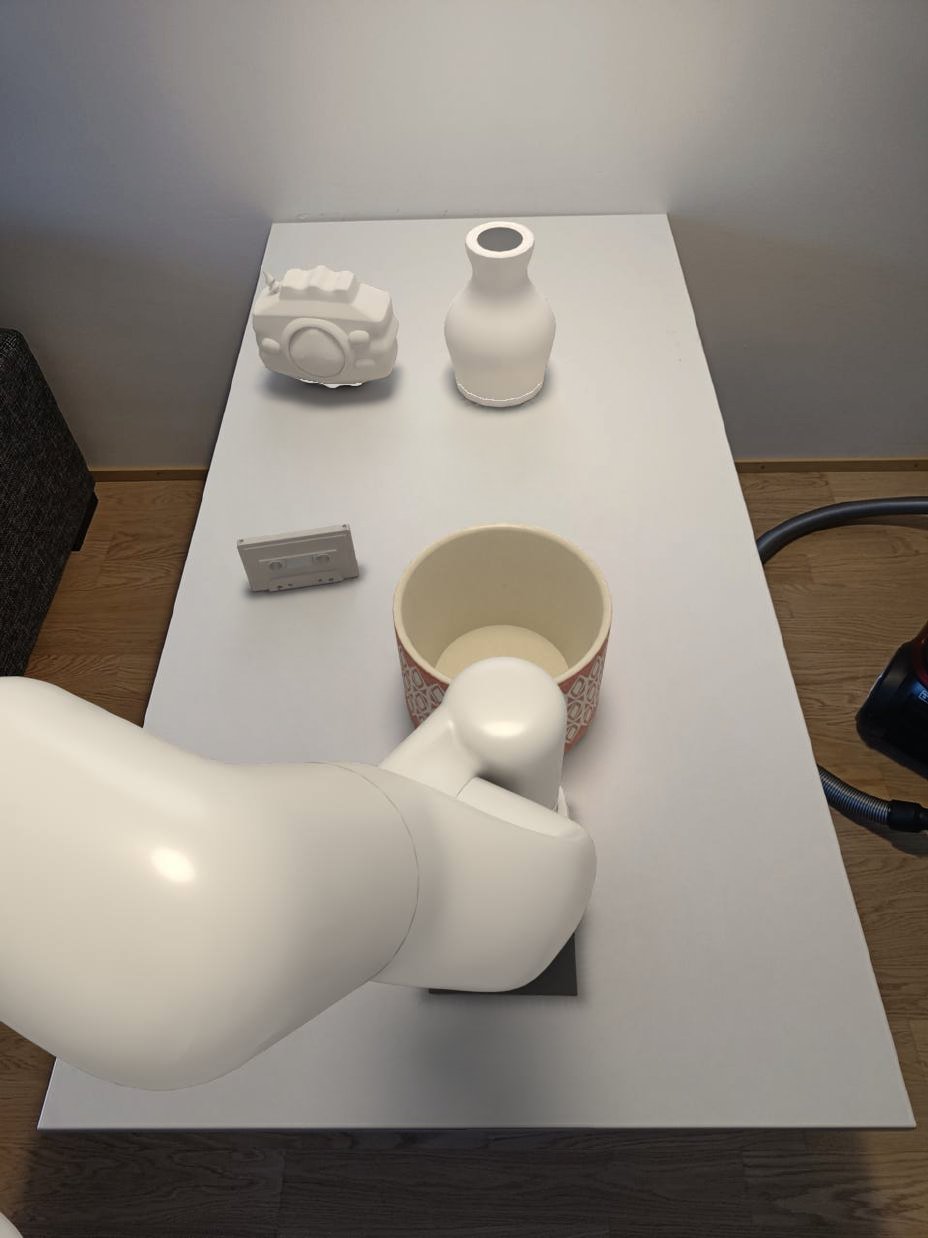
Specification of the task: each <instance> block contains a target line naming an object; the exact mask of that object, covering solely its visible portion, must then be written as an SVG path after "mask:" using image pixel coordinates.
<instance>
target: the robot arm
mask: <svg viewBox="0 0 928 1238" xmlns="http://www.w3.org/2000/svg"><path fill="white" fill-rule="evenodd" d="M566 730H567V707H566V702H565V699H564V697H563V694H562V691H561V690H560V688H559V686H558V684H557V683H556V682H555V681H554V679H553V678H552V677H551V676H550V675H549V674H548V673H547V672H546V671H545V670H543V669H542V668H540V667H539V666H537V665H535V664H534V663H531V662H529V661H526V660H523V659H519V658H515V657H492V658H487V659H483V660H480V661H478V662H476V663H473V664H471V665H470V666H468V667H466V668H465V669H464V670H462V671H461V672H460V673H459V674H458V675H457V676H456V677H455V678H454V680H453V681H452V682H451V683H450V685H449V687H448V689H447V690H446V692H445V695H444V698H443V700H442V703H441V704H440V705H439V706H438V708H437V709H436V710H435V711H434V712H433V713H432V714H431V715H430V716H429V717H428V718H427V719H426V720H425V721H424V722H423V723H422V724H421V725H420V726H419V727H418V728H417V727H416V728H415V729H414V730H413V731H412V732H411V733H410V734H409V735H408V736H407V737H406V738H404V739H403V740H402V741H401V742H400V743H399V744H398V745H397V746H396V747H395V748H393V750H391V752H390V753H388V754H387V755H386V756H385V757H384V758H383V759H381V761H379V763H378V764H377V765H376V766H375V765H370V764H367V763H363V762H358V761H346V760H338V761H337V760H336V761H334V760H333V761H312V762H286V763H285V762H282V763H281V762H279V763H261V762H257V763H255V762H254V763H251V762H249V763H248V762H247V763H231V762H230V763H229V762H223V761H220V760H217V759H212V758H209V757H207V756H204V755H201V754H198V753H195V752H193V751H190V750H188V749H185V748H184V747H181V746H179V745H177V744H175V743H173V742H171V741H168V739H167V740H166V739H164V738H163V737H160V736H158V735H156V734H154V733H153V732H150V731H149V730H147V729H145V728H143V727H141V726H138V725H137V724H135V723H133V722H131V721H129V720H127V719H125V718H123V717H121V716H118V715H116V714H114V713H111V712H109V711H108V710H106V709H105V708H103V707H101V706H99V705H96V704H94V703H93V702H90V701H87V700H86V699H84V698H81V697H79V696H77V695H75V694H73V693H71V692H70V691H67V690H65V689H64V688H63V687H62V688H61V687H60V686H58V685H55V684H53V683H50V682H47V681H44V680H39V679H37V678H31V677H24V676H0V1022H1V1023H3V1024H4V1025H6V1026H7V1027H9V1028H10V1029H12V1030H13V1031H15V1032H16V1033H18V1034H19V1035H21V1036H22V1037H23V1038H24V1039H27V1040H28V1041H30V1042H31V1043H33V1044H34V1045H36V1046H38V1047H39V1048H42V1050H44V1051H46V1052H47V1053H49V1054H51V1055H52V1056H54V1057H56V1058H57V1059H59V1060H61V1061H62V1062H65V1063H66V1064H67V1065H71V1066H72V1067H74V1068H76V1069H77V1070H80V1071H81V1072H83V1073H85V1074H87V1075H89V1076H92V1077H94V1078H96V1079H100V1080H102V1081H105V1082H108V1083H111V1084H113V1085H116V1086H119V1087H125V1088H131V1089H137V1090H143V1091H151V1092H165V1091H167V1092H168V1091H169V1092H170V1091H177V1090H182V1089H187V1088H192V1087H196V1086H199V1085H204V1084H207V1083H210V1082H213V1081H214V1080H217V1079H220V1078H222V1077H224V1076H226V1075H228V1074H230V1073H232V1072H234V1071H236V1070H238V1069H239V1068H241V1067H242V1066H244V1065H245V1064H246V1063H248V1062H250V1061H251V1060H252V1059H254V1058H256V1057H257V1056H258V1055H260V1054H262V1053H264V1052H265V1051H266V1050H268V1049H269V1048H271V1047H272V1046H274V1045H276V1044H277V1043H278V1042H280V1041H281V1040H283V1039H284V1038H286V1037H288V1036H289V1035H290V1034H292V1033H293V1032H295V1031H296V1030H298V1029H299V1028H301V1027H302V1026H304V1025H305V1024H307V1023H308V1022H310V1021H311V1020H313V1019H315V1018H316V1017H317V1016H319V1015H321V1014H323V1012H326V1010H328V1009H329V1008H331V1007H332V1006H334V1005H335V1004H336V1003H338V1002H339V1001H341V1000H342V999H344V998H346V997H348V995H350V994H352V993H353V992H354V991H356V990H357V989H359V988H360V987H362V986H364V985H365V984H367V983H368V982H373V983H380V984H385V985H391V986H398V987H399V986H400V987H408V988H409V987H410V988H421V989H422V988H423V989H429V988H435V989H451V990H462V991H475V992H499V991H508V990H512V989H516V988H519V987H521V986H524V985H526V984H528V983H529V982H531V981H532V980H534V979H535V978H536V977H537V976H539V975H540V974H541V973H542V972H543V971H544V970H545V969H546V968H547V967H548V965H549V964H550V963H551V962H552V961H553V959H554V958H555V957H556V955H557V954H558V953H559V952H560V950H561V949H562V948H563V946H564V945H565V944H566V942H567V941H568V939H569V938H570V937H571V935H572V934H573V932H574V933H575V930H576V929H577V928H578V926H579V924H580V922H581V920H582V918H583V916H584V914H585V912H586V910H587V907H588V905H589V902H590V900H591V897H592V893H593V889H594V885H595V881H596V876H597V868H598V867H597V864H598V863H597V862H598V859H597V850H596V845H595V843H594V840H593V838H592V836H591V835H590V833H589V832H588V830H587V829H585V827H583V826H582V825H581V824H579V823H578V822H576V821H575V820H573V819H571V814H570V809H569V804H568V800H567V796H566V794H565V791H564V789H563V787H562V785H561V779H562V772H563V771H562V770H563V761H564V755H565V754H564V753H565V752H564V746H565V738H566ZM0 1238H24V1237H23V1235H22V1234H21V1232H20V1231H19V1230H18V1228H17V1227H16V1226H15V1225H14V1224H13V1223H12V1222H11V1221H10V1220H9V1218H7V1217H6V1216H5V1215H4V1214H3V1213H2V1212H1V1211H0Z"/></svg>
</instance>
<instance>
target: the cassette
mask: <svg viewBox="0 0 928 1238" xmlns="http://www.w3.org/2000/svg"><path fill="white" fill-rule="evenodd" d="M236 549H237V551H238V554H239V556H240V560H241V563H242V565H243V569H244V572H245V574H246V577H247V581H248V583H249V586H250V588H251V591H253V592H261V591H269V592H276V591H283V590H290V589H296V588H305V587H311V586H317V585H324V584H330V583H336V582H343V581H344V579H349V578H355V577H359V573H360V569H359V565H358V563H359V562H358V560H357V557H356V552H355V551H356V550H355V546H354V541H353V535H352V531H351V526H350V525H349V523H343V524H338V525H332V526H331V525H330V526H324V527H317V528H310V529H303V530H296V531H289V532H282V533H273V534H268V535H261V536H253V537H247V538H240V539H237V541H236Z"/></svg>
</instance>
